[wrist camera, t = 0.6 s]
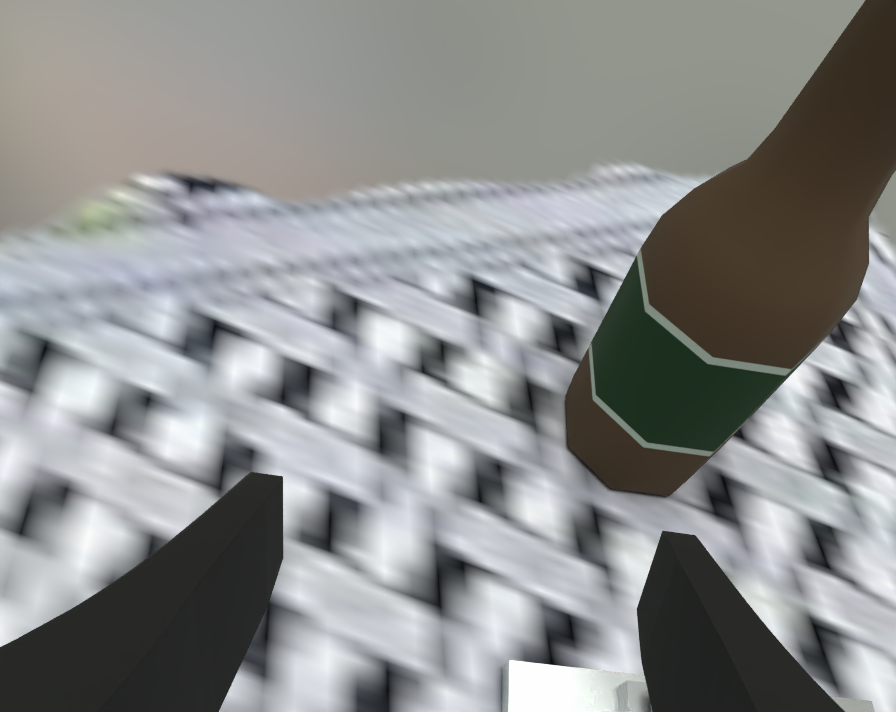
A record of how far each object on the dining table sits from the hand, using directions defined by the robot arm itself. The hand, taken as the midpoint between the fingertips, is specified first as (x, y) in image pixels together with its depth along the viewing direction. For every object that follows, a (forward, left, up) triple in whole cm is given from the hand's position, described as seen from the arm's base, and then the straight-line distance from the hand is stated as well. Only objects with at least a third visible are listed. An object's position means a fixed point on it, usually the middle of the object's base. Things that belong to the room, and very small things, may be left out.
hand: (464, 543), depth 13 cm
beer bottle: (+14, -11, -17) cm, 24 cm away
